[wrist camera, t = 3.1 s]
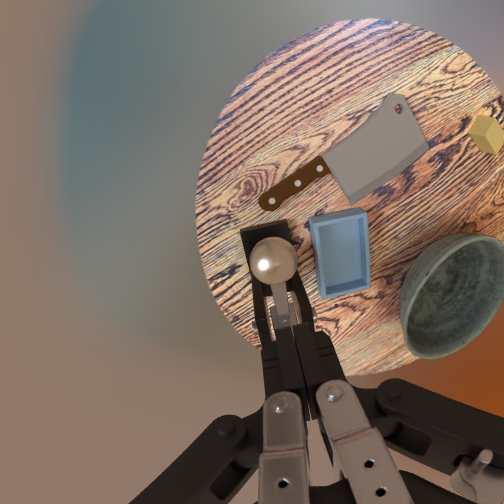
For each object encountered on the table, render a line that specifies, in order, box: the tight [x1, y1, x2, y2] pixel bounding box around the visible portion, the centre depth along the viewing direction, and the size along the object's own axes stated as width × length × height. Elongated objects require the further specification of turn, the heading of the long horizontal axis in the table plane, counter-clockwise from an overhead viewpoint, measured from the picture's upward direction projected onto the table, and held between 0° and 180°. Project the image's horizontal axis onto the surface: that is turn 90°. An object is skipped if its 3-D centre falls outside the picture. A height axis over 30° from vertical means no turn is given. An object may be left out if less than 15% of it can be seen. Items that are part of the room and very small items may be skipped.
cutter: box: [240, 219, 317, 348], centre depth 34 cm, size 10×6×16 cm, turn 12°
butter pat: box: [468, 116, 504, 155], centre depth 33 cm, size 4×4×4 cm
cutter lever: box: [250, 237, 298, 337], centre depth 24 cm, size 13×3×3 cm, turn 12°
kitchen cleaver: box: [258, 93, 429, 211], centre depth 36 cm, size 24×1×10 cm
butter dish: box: [309, 207, 371, 299], centre depth 40 cm, size 11×7×2 cm, turn 12°
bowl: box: [399, 233, 504, 359], centre depth 39 cm, size 21×21×10 cm
